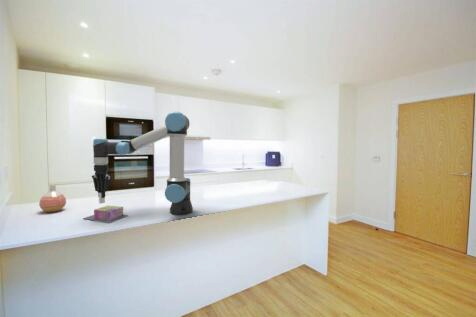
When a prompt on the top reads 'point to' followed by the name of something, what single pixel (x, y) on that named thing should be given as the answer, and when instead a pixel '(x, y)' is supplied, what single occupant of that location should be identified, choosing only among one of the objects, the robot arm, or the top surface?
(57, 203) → the vase
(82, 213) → the top surface
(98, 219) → the mat
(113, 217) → the box
